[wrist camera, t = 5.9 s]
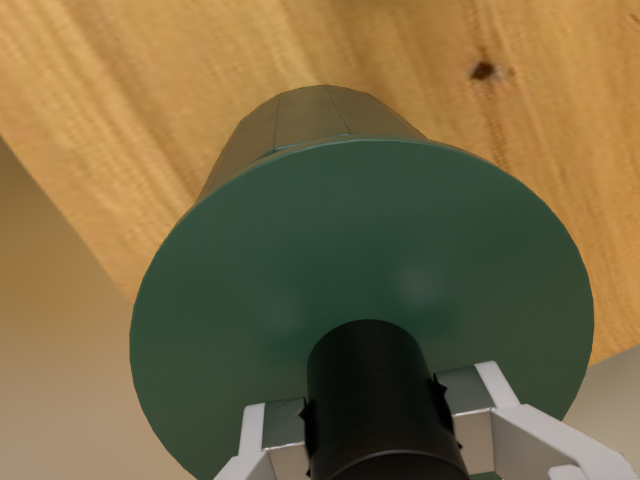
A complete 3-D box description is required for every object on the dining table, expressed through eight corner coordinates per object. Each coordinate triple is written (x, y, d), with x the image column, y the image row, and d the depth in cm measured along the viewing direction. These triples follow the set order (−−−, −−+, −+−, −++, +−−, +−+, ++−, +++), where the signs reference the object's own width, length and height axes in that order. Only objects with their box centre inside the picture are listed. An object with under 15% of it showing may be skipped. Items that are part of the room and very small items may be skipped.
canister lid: (575, 81, 12) (780, 128, 7) (571, 460, 17) (689, 649, 12) (72, 182, 13) (-81, 296, 8) (209, 524, 18) (175, 733, 13)
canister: (414, 64, 26) (514, 99, 14) (436, 266, 31) (525, 415, 19) (189, 110, 26) (113, 180, 15) (245, 303, 31) (219, 472, 19)
